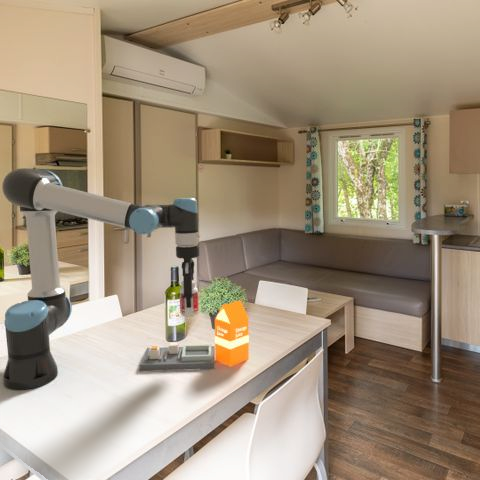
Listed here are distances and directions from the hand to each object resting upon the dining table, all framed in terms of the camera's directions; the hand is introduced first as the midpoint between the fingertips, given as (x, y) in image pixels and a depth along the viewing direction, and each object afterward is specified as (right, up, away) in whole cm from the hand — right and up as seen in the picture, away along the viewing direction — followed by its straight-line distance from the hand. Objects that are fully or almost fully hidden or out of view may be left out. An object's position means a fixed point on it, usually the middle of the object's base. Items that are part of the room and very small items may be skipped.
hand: (190, 313), depth 142 cm
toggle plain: (-6, -14, +4) cm, 16 cm away
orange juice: (+14, -17, +3) cm, 22 cm away
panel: (-4, -17, +2) cm, 17 cm away
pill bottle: (0, 0, 0) cm, 0 cm away
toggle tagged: (-12, -15, 0) cm, 19 cm away
